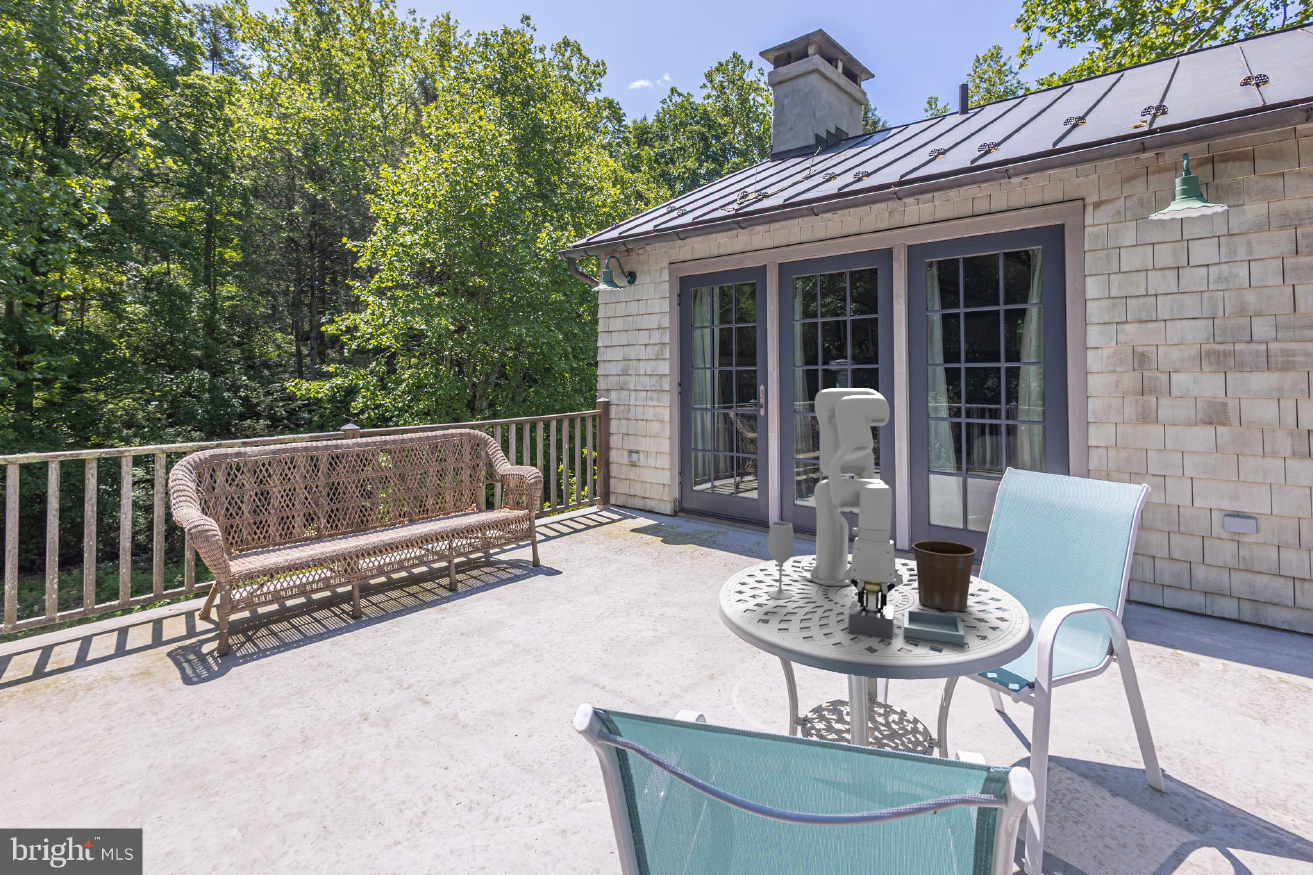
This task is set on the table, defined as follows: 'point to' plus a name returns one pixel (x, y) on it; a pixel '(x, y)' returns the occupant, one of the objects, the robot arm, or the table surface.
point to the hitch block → (871, 621)
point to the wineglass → (781, 552)
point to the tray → (933, 628)
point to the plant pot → (943, 573)
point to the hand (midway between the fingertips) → (872, 606)
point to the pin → (872, 595)
